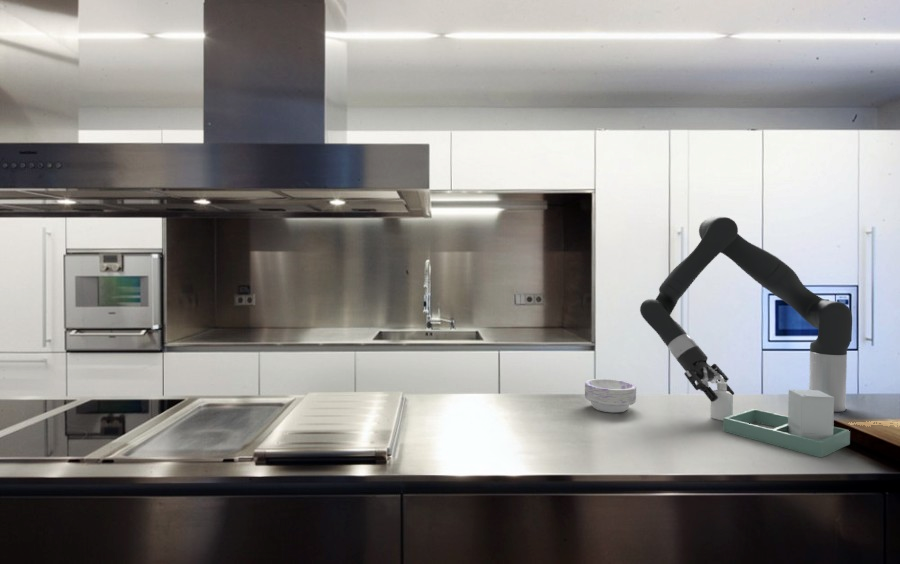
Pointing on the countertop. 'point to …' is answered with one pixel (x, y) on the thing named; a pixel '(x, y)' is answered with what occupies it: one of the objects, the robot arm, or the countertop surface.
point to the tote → (782, 433)
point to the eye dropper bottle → (722, 402)
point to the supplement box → (810, 414)
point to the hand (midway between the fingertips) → (723, 397)
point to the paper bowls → (610, 394)
